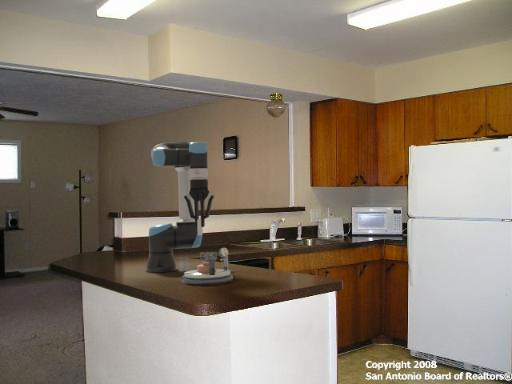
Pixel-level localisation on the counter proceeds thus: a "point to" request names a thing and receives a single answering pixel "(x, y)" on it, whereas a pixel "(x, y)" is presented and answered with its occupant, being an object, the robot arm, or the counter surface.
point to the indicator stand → (224, 254)
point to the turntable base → (207, 281)
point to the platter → (212, 274)
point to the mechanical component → (208, 255)
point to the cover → (204, 268)
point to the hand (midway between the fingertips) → (200, 234)
